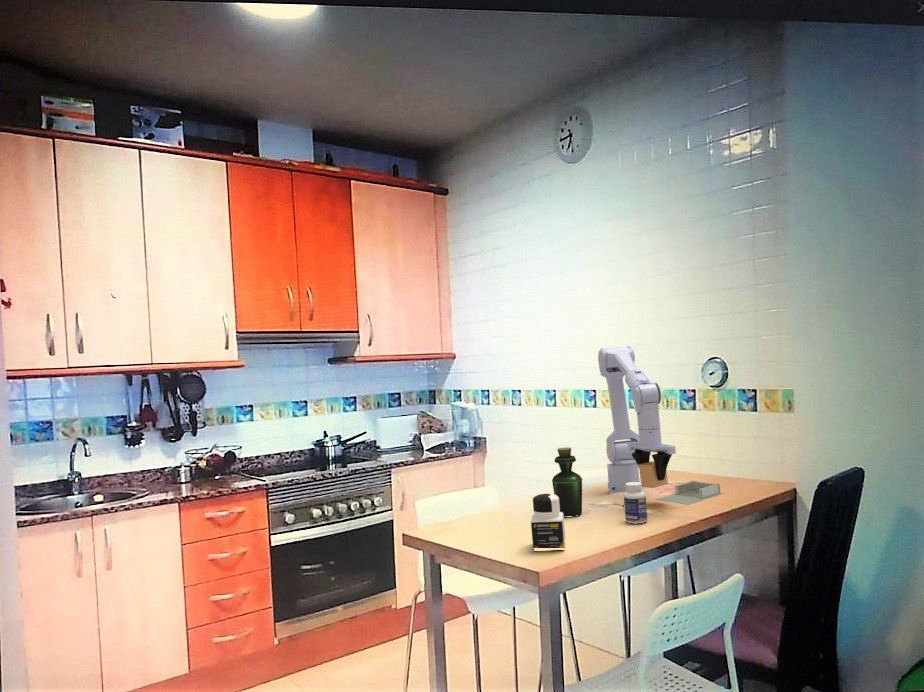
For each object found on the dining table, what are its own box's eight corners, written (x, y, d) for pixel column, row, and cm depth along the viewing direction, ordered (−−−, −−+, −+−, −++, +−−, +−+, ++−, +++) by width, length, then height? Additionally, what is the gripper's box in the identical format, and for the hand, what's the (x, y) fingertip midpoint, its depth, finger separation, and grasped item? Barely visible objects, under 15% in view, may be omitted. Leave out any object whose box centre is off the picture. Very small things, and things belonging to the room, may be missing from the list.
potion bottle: (555, 511, 188) (550, 447, 188) (585, 510, 187) (579, 445, 187) (554, 518, 180) (548, 451, 180) (585, 517, 179) (579, 450, 179)
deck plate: (688, 509, 178) (688, 504, 178) (655, 503, 187) (655, 499, 187) (724, 497, 187) (724, 493, 187) (691, 492, 196) (691, 488, 196)
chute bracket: (702, 498, 183) (701, 489, 183) (675, 494, 191) (674, 485, 191) (720, 493, 188) (719, 484, 188) (693, 489, 195) (692, 480, 195)
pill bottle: (642, 525, 167) (639, 486, 167) (622, 523, 170) (619, 485, 170) (651, 520, 171) (647, 481, 171) (631, 518, 174) (627, 480, 174)
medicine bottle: (533, 552, 153) (528, 499, 153) (535, 543, 160) (531, 492, 160) (564, 551, 151) (560, 498, 151) (565, 542, 158) (561, 491, 158)
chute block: (654, 488, 177) (651, 465, 178) (640, 487, 181) (637, 464, 182) (669, 484, 181) (666, 461, 181) (655, 483, 185) (652, 461, 185)
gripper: (618, 429, 185) (622, 478, 185) (661, 431, 173) (665, 484, 173) (635, 425, 189) (640, 473, 189) (678, 428, 177) (683, 479, 177)
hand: (653, 478), depth 181 cm, fingers closed on chute block, 5 cm apart
